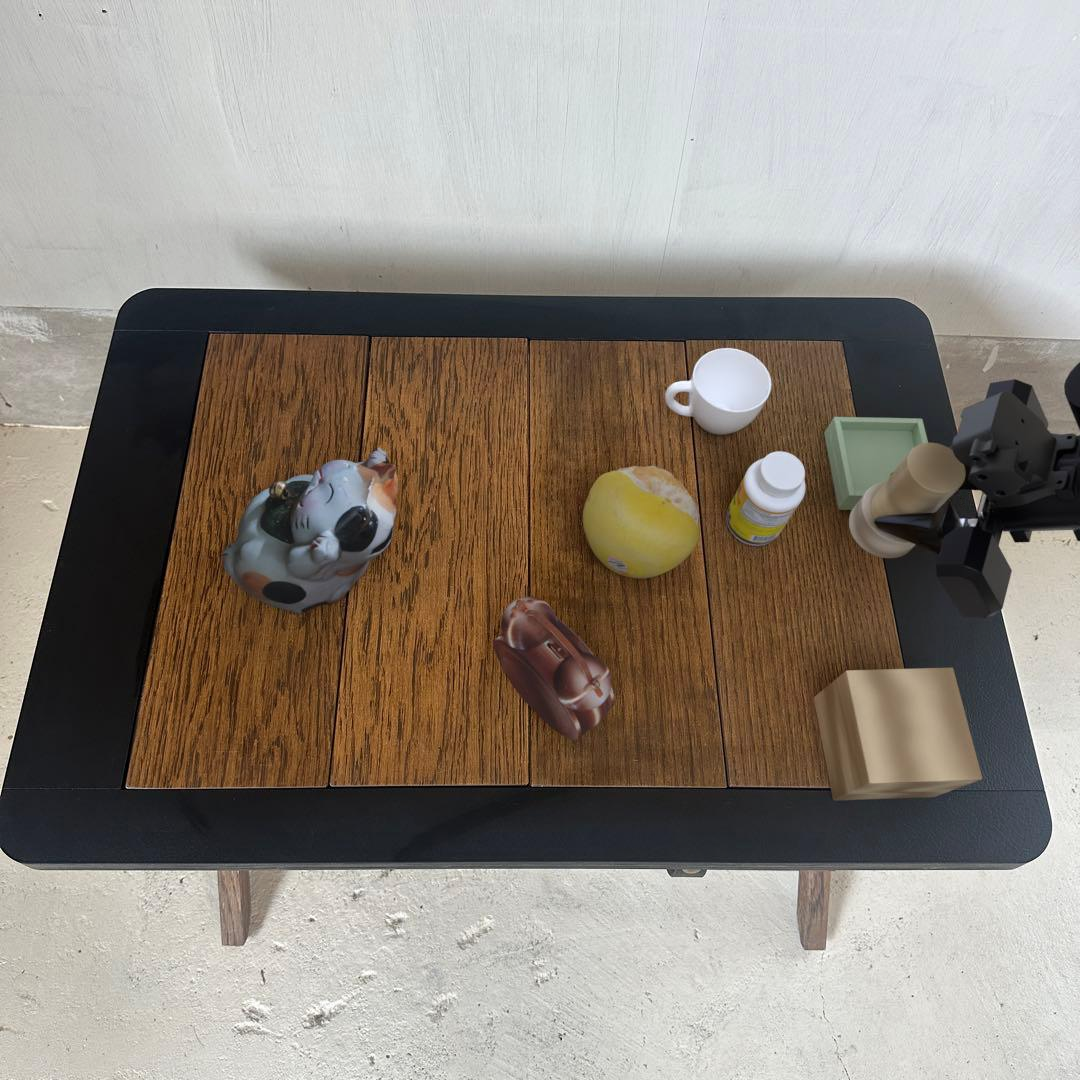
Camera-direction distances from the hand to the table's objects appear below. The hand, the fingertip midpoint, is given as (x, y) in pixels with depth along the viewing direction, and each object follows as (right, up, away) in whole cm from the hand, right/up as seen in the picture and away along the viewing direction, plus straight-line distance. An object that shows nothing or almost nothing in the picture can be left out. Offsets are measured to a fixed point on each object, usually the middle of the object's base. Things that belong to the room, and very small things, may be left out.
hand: (884, 500), depth 70 cm
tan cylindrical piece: (+1, -2, +3) cm, 4 cm away
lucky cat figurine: (-49, -4, +11) cm, 50 cm away
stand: (+1, -21, +5) cm, 22 cm away
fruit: (-19, -4, +13) cm, 23 cm away
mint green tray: (+6, +4, +18) cm, 19 cm away
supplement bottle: (-7, -2, +14) cm, 16 cm away
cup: (-11, +9, +20) cm, 24 cm away
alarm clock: (-28, -17, +6) cm, 33 cm away
